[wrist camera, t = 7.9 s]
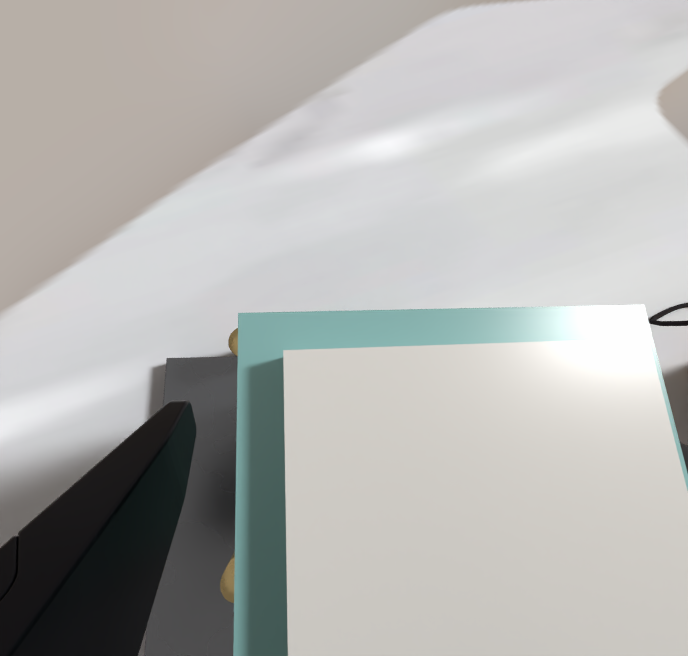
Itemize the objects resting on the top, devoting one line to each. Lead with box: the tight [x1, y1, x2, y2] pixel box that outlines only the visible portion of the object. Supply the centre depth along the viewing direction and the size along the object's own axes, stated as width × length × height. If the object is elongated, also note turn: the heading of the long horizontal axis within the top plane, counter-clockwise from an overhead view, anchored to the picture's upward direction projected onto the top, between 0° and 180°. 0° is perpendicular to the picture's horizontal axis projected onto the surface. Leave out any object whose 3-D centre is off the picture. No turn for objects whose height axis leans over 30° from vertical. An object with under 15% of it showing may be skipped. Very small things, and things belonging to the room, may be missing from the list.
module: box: [233, 305, 688, 656], centre depth 10 cm, size 5×5×13 cm
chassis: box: [145, 328, 238, 656], centre depth 14 cm, size 17×16×4 cm
